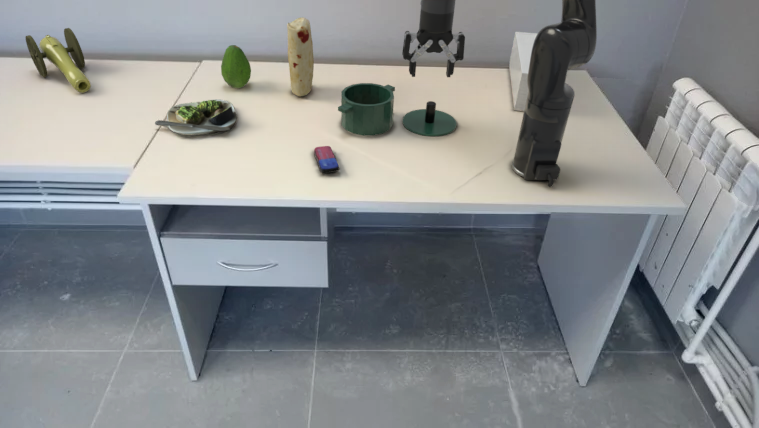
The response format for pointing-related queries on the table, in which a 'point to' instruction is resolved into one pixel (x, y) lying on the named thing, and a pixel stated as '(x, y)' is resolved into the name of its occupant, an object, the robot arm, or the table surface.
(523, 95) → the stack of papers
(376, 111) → the pot
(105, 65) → the table surface
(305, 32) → the food model
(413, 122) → the lid
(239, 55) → the avocado
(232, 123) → the salad plate
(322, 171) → the eraser
